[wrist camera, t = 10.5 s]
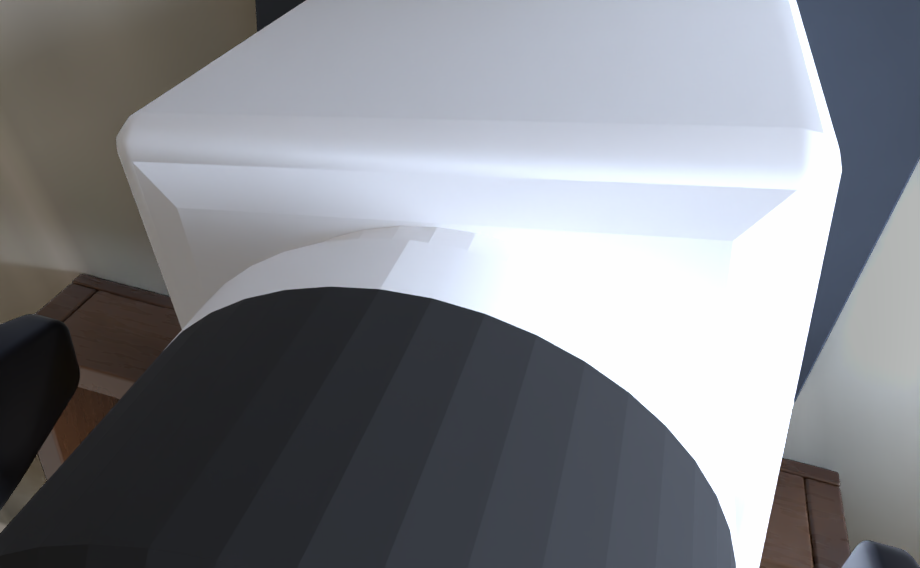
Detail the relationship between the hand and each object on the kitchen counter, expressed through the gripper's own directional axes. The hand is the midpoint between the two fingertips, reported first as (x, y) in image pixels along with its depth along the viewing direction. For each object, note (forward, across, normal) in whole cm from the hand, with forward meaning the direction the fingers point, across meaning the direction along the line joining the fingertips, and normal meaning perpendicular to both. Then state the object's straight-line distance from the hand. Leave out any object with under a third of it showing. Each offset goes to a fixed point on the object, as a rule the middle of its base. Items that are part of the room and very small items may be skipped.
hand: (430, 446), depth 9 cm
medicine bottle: (+8, 0, 0) cm, 8 cm away
